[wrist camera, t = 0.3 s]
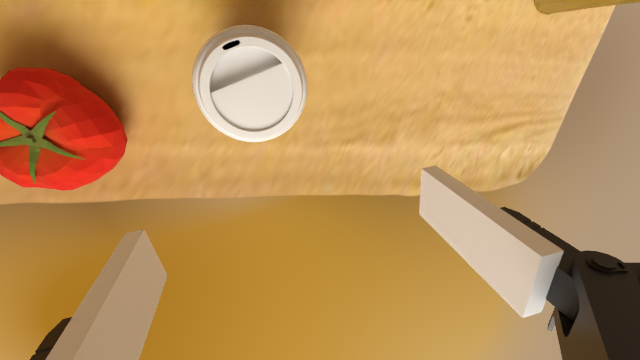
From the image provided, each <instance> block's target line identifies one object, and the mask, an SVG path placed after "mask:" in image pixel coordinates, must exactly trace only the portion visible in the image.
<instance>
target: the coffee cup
mask: <svg viewBox="0 0 640 360" xmlns="http://www.w3.org/2000/svg"><path fill="white" fill-rule="evenodd" d="M192 85H193V92H194V96H195V99H196V101H197V104H198V106H199V108H200V110H201V111H202V113H203V115H204V116H205V117H206V119H207V120H208V121H209V122H210V123H211V124H212V125H213V126H214V127H215V128H216V129H218V130H219V131H221V132H222V133H224V134H225V135H227V136H229V137H232V138H234V139H237V140H241V141H246V142H262V141H267V140H270V139H273V138H276V137H278V136H280V135H282V134H283V133H285V132H286V131H287V130H288V129H290V128H291V127H292V126H293V125H294V123H295V122H296V121H297V119H298V118H299V116H300V115H301V113H302V111H303V108H304V105H305V102H306V97H307V77H306V73H305V69H304V66H303V64H302V61H301V59H300V57H299V56H298V54H297V53H296V51H295V50H294V48H293V47H292V46H291V45H290V44H289V43H288V42H287V41H286V40H285V39H284V38H282V37H281V36H280V35H278V34H277V33H275V32H273V31H271V30H269V29H266V28H263V27H260V26H255V25H236V26H231V27H228V28H225V29H223V30H221V31H219V32H217V33H216V34H214V35H213V36H212V37H211V38H209V39H208V40H207V41H206V43H205V44H204V45H203V46H202V48H201V49H200V51H199V53H198V55H197V57H196V60H195V63H194V66H193V72H192Z"/></svg>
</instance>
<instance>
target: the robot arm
mask: <svg viewBox="0 0 640 360" xmlns="http://www.w3.org/2000/svg"><path fill="white" fill-rule="evenodd" d="M419 214H420V215H421V216H422V217H423V218H424V219H425V220H426V221H427V222H428V223H429V224H430V225H431V226H432V227H433V228H434V229H435V230H436V231H437V232H438V233H439V234H440V235H441V236H442V237H443V238H444V239H445V240H446V241H447V242H448V243H449V244H450V245H451V246H452V247H453V249H454V250H455V251H456V252H458V254H459V255H460V256H462V257H463V259H465V261H466V262H467V263H468V264H469V265H471V267H472V268H473V269H474V270H475V271H476V272H477V273H478V274H479V275H480V276H481V277H482V278H483V279H484V280H485V281H486V282H487V283H488V284H489V285H490V286H491V287H492V288H493V289H494V290H495V291H497V293H498V294H499V295H500V296H501V297H502V298H503V299H504V300H505V301H506V302H507V303H508V304H509V305H510V306H511V307H512V308H513V309H514V310H515V311H516V312H517V313H518V314H519V315H520V316H521V317H522V318H524V317H527V316H530V315H533V314H537V313H540V312H542V309H543V307H544V304H545V301H546V299H547V300H548V301H549V302H550V303H551V304H552V305H554V306H555V308H554V311H553V314H552V316H551V319H550V321H549V324H548V330H550V331H552V329H553V326H554V325H555V326H556V330H557V335H558V340H559V344H560V349H561V354H562V359H563V360H640V263H623V262H622V261H621V260H619V259H617V258H615V257H612V256H610V255H608V254H604V253H601V252H597V251H582V252H581V251H579V250H578V249H576V248H574V247H573V246H571V245H570V244H568V243H566V242H565V241H563V240H562V239H560V238H559V237H557V236H555V235H554V234H552V233H550V232H549V231H547V230H546V229H544V228H541V226H540V225H538V224H536V223H535V222H531V220H530V219H529V218H527V217H525V216H523V215H522V214H521V213H519V212H516V211H513V210H511V209H508V208H506V207H502V208H499V207H497V206H496V205H494V204H493V203H491V202H490V201H488V200H487V199H485V198H484V197H482V196H481V195H479V194H478V193H476V192H475V191H473V190H472V189H470V188H469V187H467V186H466V185H464V184H463V183H461V182H460V181H458V180H457V179H455V178H454V177H452V176H451V175H449V174H448V173H446V172H445V171H443V170H442V169H440V168H438V167H437V166H431V167H427V168H422V173H421V192H420V212H419ZM166 278H167V274H166V272H165V270H164V268H163V266H162V264H161V262H160V260H159V258H158V256H157V254H156V252H155V250H154V248H153V246H152V244H151V242H150V240H149V238H148V236H147V234H146V232H145V230H140V231H135V232H130V233H126V234H125V235H124V236H123V238H122V239H121V241H120V243H119V244H118V246H117V247H116V249H115V251H114V252H113V254H112V255H111V257H110V259H109V260H108V262H107V263H106V265H105V267H104V268H103V269H102V271H101V273H100V274H99V276H98V277H97V279H96V281H95V282H94V284H93V285H92V287H91V289H90V290H89V292H88V293H87V295H86V296H85V298H84V300H83V301H82V303H81V304H80V306H79V307H78V309H77V311H76V312H75V314H74V315H73V317H70V318H66V319H63V320H62V321H61V322H60V323H59V324H58V325H57V326H56V327H55V328H54V329H52V330H51V331H50V332H49V333H48V334H47V335H46V337H45V339H44V340H43V341H42V343H41V344H40V346H39V347H38V349H37V350H36V351H35V352H36V354H35V355H33V356H32V357H31V359H30V360H139V358H140V355H141V351H142V349H143V346H144V343H145V340H146V337H147V334H148V331H149V328H150V325H151V322H152V319H153V316H154V313H155V310H156V308H157V305H158V302H159V299H160V296H161V293H162V290H163V287H164V284H165V281H166Z"/></svg>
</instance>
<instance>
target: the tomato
mask: <svg viewBox="0 0 640 360" xmlns="http://www.w3.org/2000/svg"><path fill="white" fill-rule="evenodd" d="M126 143H127V137H126V134H125V131H124V128H123V125H122V124H121V122H120V121H119V120H118V118H117V117H116V115H115V114H114V112H113V111H112V109H111V108H110V107H109V106H108V105H107V104H106V103H105V102H104V101H103V100H102V99H101V98H100V97H99V96H97V95H96V94H94V93H93V92H91V91H90V90H88V89H86V88H85V87H83V86H82V85H81V84H80V83H79V82H78V81H76V80H75V79H74V78H72V77H70V76H67V75H65V74H63V73H60V72H58V71H55V70H53V69H46V68H16V69H14V70H11V71H8V72H7V73H6V74H5V75H4V76H3V77H2V78H1V79H0V174H1V175H2V176H3V177H5V178H7V179H9V180H10V181H12V182H14V183H16V184H18V185H20V186H22V187H40V188H48V189H58V190H73V189H76V188H79V187H81V186H84V185H86V184H89V183H91V182H93V181H95V180H97V179H99V178H100V177H102V176H103V175H104V174H106V173H107V172H109V171H110V170H112V169H113V168H114V167H115V166H116V164H117V163H118V162H119V161H120V159H121V158H122V157H123V155H124V152H125V148H126Z"/></svg>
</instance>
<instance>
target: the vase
mask: <svg viewBox="0 0 640 360" xmlns="http://www.w3.org/2000/svg"><path fill="white" fill-rule="evenodd" d="M534 2H535V6H536V8H537V10H538V11H539V12H541V13H543V14H552V13H558V12H566V11H573V10H580V9H587V8H595V7H602V6H610V5H618V4H626V3H635V2H640V0H534Z"/></svg>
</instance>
